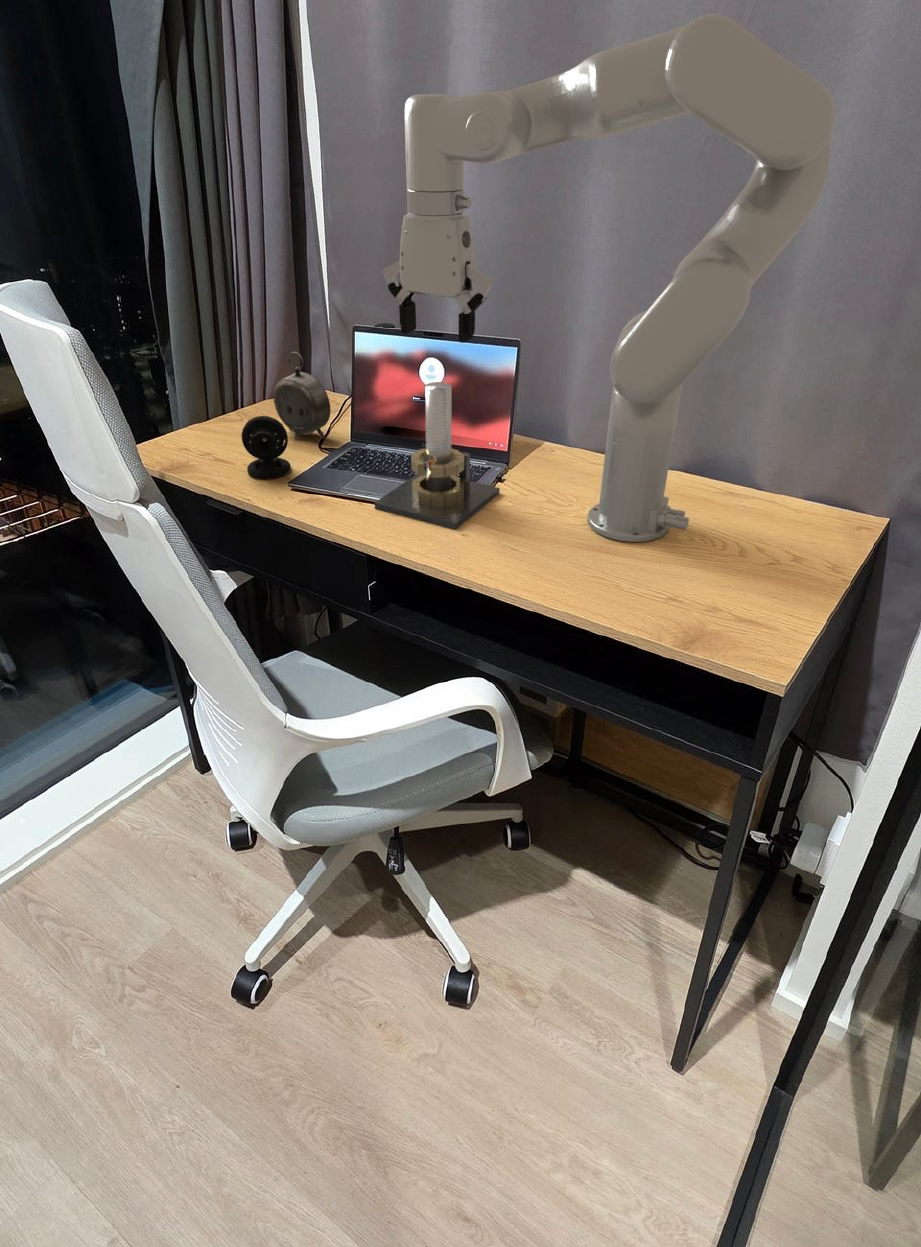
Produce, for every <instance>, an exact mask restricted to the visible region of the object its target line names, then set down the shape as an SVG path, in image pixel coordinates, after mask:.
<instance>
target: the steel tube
mask: <svg viewBox="0 0 921 1247" xmlns="http://www.w3.org/2000/svg"><path fill="white" fill-rule="evenodd" d="M452 394H453V393H452V384H450V383H449V382H448V383H447V382H442V381H435V382H428V383H427V384H425V385H424V399H425V400H424V402H425V403H424V404H425V408H424V409H425V410H424V411H425V448H426V461H425V465H426V466H425V467H426V468H425V471H426V480H427V490H428V491H432V492H444V491H448V490H451V476H449V477H431V465H444V464H448V463H452V461H451V449H452Z"/></svg>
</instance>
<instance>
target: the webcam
mask: <svg viewBox="0 0 921 1247" xmlns="http://www.w3.org/2000/svg"><path fill="white" fill-rule="evenodd" d="M241 442H242V445H243V448H244V449H245V450H246V452H247V453H248V454H249V455H251V456H252V457H253V458H255V460H252V461H251V462H250V463H249V464H247V470H246V471H247V473H248V475H249V476H250V477H253V478H255V479H259V480H274V479H275V480H276V479H278V478H282V477H283V476H285V475H287V474H289V473H290V471H291V470H292V466H291V463H290V462H289V460H287V459H285V458H281V455H283V453H285V451H286V449H287V446H288V442H289V437H288V432H287V430H286V428H285V427H284V425H283V424H282V422H280V420H278V419H277V418H274V417H271V416H268V415H259V416H255V417H253V418H251V419H249V420H248V421H247V422H246V423H245V425H244V426H243V427H242V432H241ZM278 466H279V468H278Z"/></svg>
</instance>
